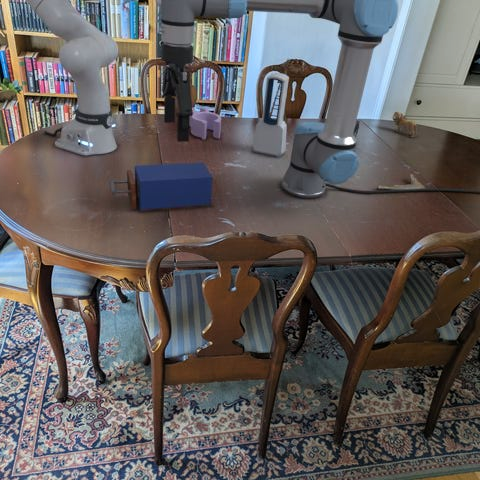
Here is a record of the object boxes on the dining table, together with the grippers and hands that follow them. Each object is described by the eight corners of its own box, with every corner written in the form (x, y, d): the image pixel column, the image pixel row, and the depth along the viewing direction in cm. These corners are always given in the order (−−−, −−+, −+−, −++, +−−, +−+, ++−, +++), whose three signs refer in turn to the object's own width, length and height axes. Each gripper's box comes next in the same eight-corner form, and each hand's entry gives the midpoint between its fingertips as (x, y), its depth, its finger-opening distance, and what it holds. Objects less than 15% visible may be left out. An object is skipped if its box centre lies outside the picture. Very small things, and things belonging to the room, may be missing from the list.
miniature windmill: (283, 131, 209) (293, 61, 193) (265, 128, 210) (273, 58, 194) (285, 124, 217) (296, 57, 200) (268, 122, 218) (276, 54, 201)
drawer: (112, 210, 136) (111, 185, 131) (109, 195, 143) (107, 170, 139) (198, 203, 144) (199, 179, 140) (191, 189, 151) (192, 166, 147)
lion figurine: (387, 130, 224) (392, 111, 219) (391, 127, 228) (397, 109, 223) (416, 139, 217) (422, 120, 212) (420, 136, 220) (426, 118, 215)
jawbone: (429, 189, 172) (431, 184, 171) (394, 201, 161) (396, 196, 160) (410, 177, 177) (412, 172, 176) (375, 189, 167) (376, 184, 165)
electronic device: (285, 152, 188) (297, 76, 172) (280, 158, 182) (292, 80, 166) (256, 146, 191) (264, 70, 175) (250, 152, 185) (258, 74, 168)
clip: (182, 123, 206) (183, 107, 202) (209, 122, 210) (210, 106, 207) (197, 140, 191) (197, 123, 187) (225, 138, 195) (226, 122, 191)
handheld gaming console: (349, 160, 187) (354, 136, 182) (342, 158, 188) (347, 134, 183) (355, 142, 206) (361, 119, 201) (349, 140, 207) (354, 118, 201)
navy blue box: (140, 212, 138) (139, 181, 133) (135, 195, 147) (134, 165, 141) (210, 206, 145) (212, 176, 140) (201, 190, 154) (203, 162, 148)
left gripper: (179, -34, 145) (178, 15, 153) (150, -32, 129) (151, 22, 136) (198, -31, 144) (196, 18, 152) (171, -29, 128) (171, 25, 135)
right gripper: (150, 32, 117) (151, 115, 129) (175, 55, 98) (173, 150, 109) (179, 33, 120) (177, 114, 131) (209, 56, 101) (204, 148, 112)
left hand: (174, 20), depth 144 cm, fingers open, 8 cm apart
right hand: (175, 131), depth 120 cm, fingers open, 13 cm apart
